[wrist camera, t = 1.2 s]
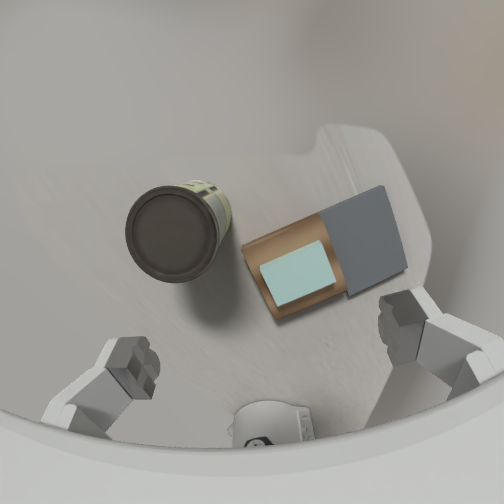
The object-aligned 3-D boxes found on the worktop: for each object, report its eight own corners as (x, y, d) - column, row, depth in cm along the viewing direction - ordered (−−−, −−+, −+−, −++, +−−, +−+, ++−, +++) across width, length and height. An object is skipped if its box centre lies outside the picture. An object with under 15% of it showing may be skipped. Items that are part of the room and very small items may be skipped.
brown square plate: (343, 281, 44) (348, 289, 41) (274, 311, 46) (275, 320, 43) (316, 212, 41) (320, 216, 39) (242, 245, 43) (241, 251, 40)
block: (333, 276, 41) (336, 281, 39) (276, 300, 42) (277, 306, 40) (318, 239, 40) (321, 243, 38) (260, 265, 41) (259, 270, 39)
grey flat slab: (404, 264, 43) (407, 267, 42) (346, 292, 45) (349, 295, 43) (380, 185, 40) (384, 186, 38) (316, 212, 41) (318, 214, 40)
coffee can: (181, 257, 44) (150, 295, 30) (154, 196, 41) (110, 210, 28) (243, 233, 43) (235, 264, 29) (216, 168, 40) (194, 168, 27)
